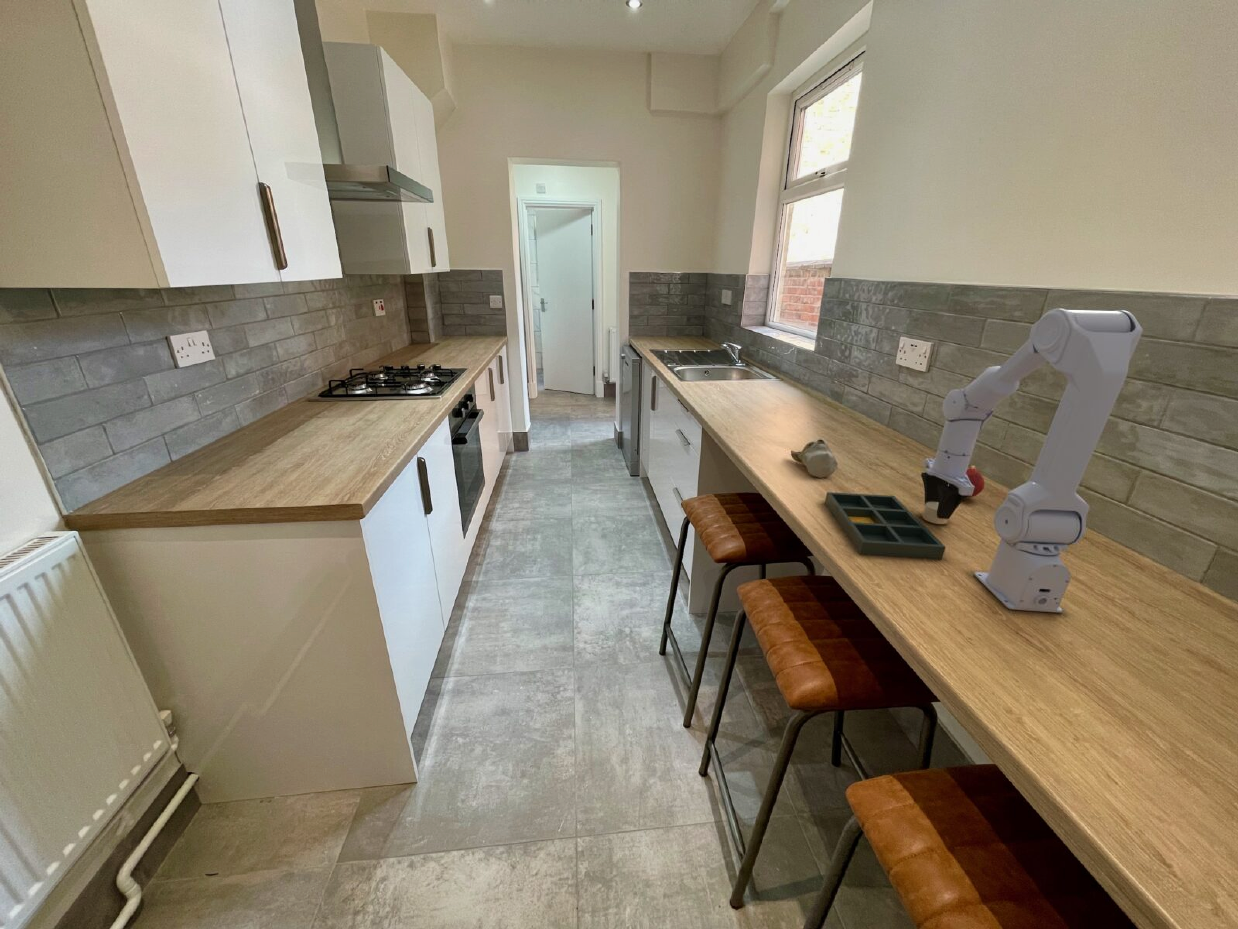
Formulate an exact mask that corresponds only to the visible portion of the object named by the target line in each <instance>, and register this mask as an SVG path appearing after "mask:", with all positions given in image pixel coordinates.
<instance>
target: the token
mask: <svg viewBox="0 0 1238 929" xmlns="http://www.w3.org/2000/svg"><path fill="white" fill-rule="evenodd" d="M938 504H939V502H932V501H931V502H927V503H926V505H925V504H924V508H923V512H922V519H924V521H927V522H929V523H932V524H935V525H946V524H947V523H948V521H949V519H941V518H938V517H937V509H938Z"/></svg>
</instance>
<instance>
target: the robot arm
mask: <svg viewBox="0 0 1238 929" xmlns="http://www.w3.org/2000/svg"><path fill="white" fill-rule="evenodd" d="M1029 332H1030V333H1029V336H1028V340H1027V341H1026V342H1024V344H1022V345H1021V346H1020V348H1018V350H1016V351H1015V352H1014V354H1012V355H1011V356H1010V357H1009V358H1008V359H1007V360H1006V361H1005V362H1004V363H1003V364H1002V365H1001V366H1000V365H995V366H988V367H987V368H985V369H984V370H983V372H982V373H981V374H980V375H979V376H977V377H976V378H975V379H974V380H973V381H971V383H969V384H968V385H967V386H965V388H960V389H952V390H950V391H949V392H948V393H947V394H946V396H945V397H944V399H943V402H942V414H943V416H944V418H945V422H944V425H943V429H942V432H941V436H940V439H939V443H938V445H937V450H936V453H935V456H934V458H929V457H928V458H927V457H926V458H925V459H924V462H923V463H924V464H923V467H924V469H925V472H921V473H920V477H921V479H922V482H923V489H924V506H925V505H926V503H927V502H931V501H932V502H939V504H938V509H937V517H938V518H941V519H948V520H949V519H950V518H951V517H952V515H953V514H954V512H955V511H956V509H957V508H958V507H959V506H960V505H961V504H962V502H964V501H965V500H966V499H968V498H967V497H969V496H972V494H973V491H974V488H975V486H973V485H972V484H971V482H970V480H969V478H968V476H967V475H966V472H967V470H968V468H969V465H970V462H971V459H972V455H973V453H974V449H975V447H976V446H975V445H976V444H977V439H978V436H979V433H980V432H981V431H983V430H984V429H985V425H986V423H987V422H988V421H989V420H990V419H991V418H992V416H993V415H994V412H995V410H994V408H995V407H996V406H998V405H999V404H1001V402H1003V401H1005V400H1006V399H1008V398H1009V397H1010V396H1011V395H1013V394H1015V392H1017V391H1018V390H1019V387H1020V380H1022V379H1023V378H1025V377H1027V376H1028V375H1030V374H1032V373H1033V372H1035V371H1036V370H1038V369H1039V368H1041V367H1042V366H1044V365H1046V364H1047V363H1049V365H1051V366H1052V367H1053V368H1054V369H1055V371H1058V372H1060V373H1062V374H1063V375H1064V377H1065V379H1066V380H1067V384H1066V386H1065V389H1064V391H1063V394H1062V396H1061V399H1060V402H1059V405H1058V407H1057V409H1056V411H1055V414H1054V417H1053V420H1052V421H1051V424H1050V427H1049V430H1048V431H1047V435H1046V438H1045V440H1044V442H1043V445H1042V447H1041V450H1040V452H1039V455H1038V457H1037V460H1036V463H1035V465H1034V468H1033V470H1032V473H1031V475H1030V477H1029V480H1028V481H1026V482H1025V483H1023V484H1021V485H1019V486H1017V487H1015V488H1013V489H1011V490H1010V491H1008V492H1007V495H1006V497H1005V500H1004V501H1003V502H1002V503H1001V504H1000V505H999V506H998V508H997V509H996V511H995V513H994V516H993V526H994V530H995V531H996V533H997V536H998V537H999V538H1000V540H999V543H998V546H997V549H996V552H995V554H994V556H993V559H992V563H991V565H990V569H989V571H988V572H983V571H975V572H973V575H974V576H975V577H976V578H977V579H978V580H979V581H980V582H981V584H983V585H984V586H985V587H986V589H987V590H989V591H990V592H991V593H992V594H993V595H994V597H996V598H997V599H998V600H999V601H1000V602H1001V604H1003V605H1004V606H1005V607H1006V608H1007V609H1009V610H1017V611H1030V612H1031V611H1033V612H1046V613H1059V614H1060V613H1062V612H1063V608H1061V606H1060V604H1061V602H1062V600H1063V598H1064V595H1065V593H1066V590H1067V589H1068V587H1069V585H1070V584H1069V583H1070V581H1071V576H1072V575H1071V572H1070V570H1069V569H1068V567H1067V566H1066V565H1065V564H1064V563H1063V561H1062V558H1061V553H1063V552H1065V553H1066V551H1067V550H1068V548H1069V546H1074V545H1076V544H1078V543H1079V542H1081V540H1082V539H1083V538H1084V536H1085V534H1086V530H1087V516H1088V513H1089V511H1090V507H1091V506H1090V505H1089V504H1088V503H1087V502H1086V501H1085V500H1084V499H1083V497H1081V496H1080V495H1079V494H1078V493H1077V490H1078V488H1079V486H1080V483H1081V481H1082V480H1083V477H1084V474H1085V472H1086V470H1087V467H1088V465H1089V463H1090V462H1091V461H1090V460H1091V459H1092V456H1093V454H1094V452H1095V450H1096V447H1097V445H1098V443H1099V440H1100V438H1101V436H1102V434H1103V431H1104V429H1105V427H1106V424H1107V423H1108V420H1109V418H1110V416H1111V414H1112V411H1113V409H1114V406H1115V404H1116V402H1117V401H1118V400H1117V399H1118V397H1119V395H1120V393H1121V390H1122V388H1123V386H1124V383H1125V381H1126V379H1127V376H1128V372H1129V365H1130V363H1131V360H1132V357H1133V355H1134V353H1135V351H1136V348H1137V346H1138V344H1139V342H1140V339H1141V336H1142V334H1143V332H1144V329H1143V327H1142V325H1140V323H1139V321H1138V320H1137V318H1136V317H1135V315H1134V314H1133V313H1132V312H1130V311H1128V310H1123V309H1119V310H1085V309H1084V310H1078V309H1065V308H1052V309H1050V310H1048V311H1047V312H1046V313H1044V314H1043V315H1041V317H1040V318H1039V319H1038V321H1036V322H1034V323H1033V324H1032V326H1031V328H1030V331H1029ZM969 498H970V497H969Z"/></svg>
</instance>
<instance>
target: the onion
mask: <svg viewBox="0 0 1238 929" xmlns="http://www.w3.org/2000/svg"><path fill="white" fill-rule="evenodd" d="M966 475H967V476H968V478H969V480H970V482H971V484H972V485H973V486H975V488H974V491H973V494H972V496H969V497H967V498H966V499H969V498H973V497H975V496H978V495H979V494H980V493H982V491H983V490H984V488H985V479H984V477H983V475H982V474H981V473H980V472H979V471H978V470H977V467H976V466H975V465H970V467H969V469H968V468H967V472H966Z"/></svg>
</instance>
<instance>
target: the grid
mask: <svg viewBox="0 0 1238 929" xmlns="http://www.w3.org/2000/svg"><path fill="white" fill-rule="evenodd" d="M824 504H825V505H826V507H827V508H828V510H829V511H830V513H831V514H832V515H833V517H834V519H835V520H836V521H837V523H838V524H839V526H840V527H841V529H842V530H843V532H844V533H845V535H846V536H847V537H848V539H849V541H851V543H852V545H853V546H854V548H855V549H856V550H857V552H858V554H860V555H864V556H865V555H866V556H882V557H884V556H885V557H899V558H915V559H917V558H918V559H931V560H932V559H933V560H943V557H944V554H945V551H946V546H945V545H944V544H943V543H942V542H941V541H940V539H938V538H937V537H936V536H935V534H934V533H932V532H931V531H930V530H929V529H928V528H927V527H926V526H925V525H924V524H923V523H922V522H921V521H920V519H918V518H917V517H916V515H914V514H913V512H911V511H910V510H909V509H908V508H907V507H906V506H905V505H904V504H903V503H902V502H901V501H900V500H899V499H898V497H896V496H895V495H887V494H870V493H869V494H867V493H851V492H850V493H849V492H830V491H829V492H828V491H827V492H826V495H825V500H824Z"/></svg>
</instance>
